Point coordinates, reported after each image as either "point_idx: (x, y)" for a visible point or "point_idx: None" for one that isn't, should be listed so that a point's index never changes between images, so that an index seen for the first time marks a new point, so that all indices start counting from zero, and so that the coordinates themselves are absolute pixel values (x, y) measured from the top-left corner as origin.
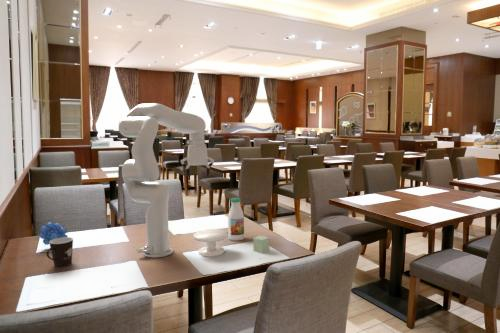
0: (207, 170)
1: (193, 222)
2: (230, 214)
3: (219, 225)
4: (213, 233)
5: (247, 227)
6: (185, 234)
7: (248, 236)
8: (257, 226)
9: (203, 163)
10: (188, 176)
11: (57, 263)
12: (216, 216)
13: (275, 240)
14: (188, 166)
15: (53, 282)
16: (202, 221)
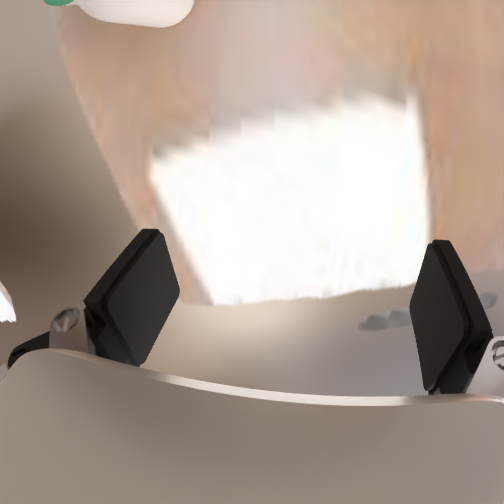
0: (109, 277)
1: (324, 244)
2: None
3: (226, 178)
4: None
5: (129, 134)
6: (370, 87)
7: (128, 28)
8: (101, 143)
9: (67, 379)
10: (441, 240)
11: None
12: (237, 291)
13: None
14: (487, 385)
15: None
16: (290, 247)
